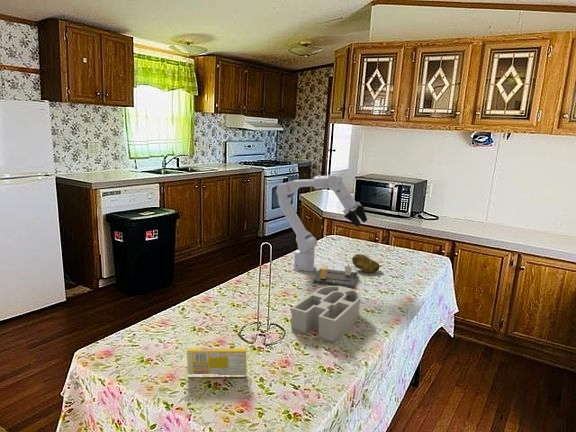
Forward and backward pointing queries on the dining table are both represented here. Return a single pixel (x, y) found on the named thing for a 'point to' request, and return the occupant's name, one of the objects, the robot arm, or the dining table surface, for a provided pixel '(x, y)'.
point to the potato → (365, 263)
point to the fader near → (323, 273)
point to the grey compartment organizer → (327, 312)
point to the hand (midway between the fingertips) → (362, 223)
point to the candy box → (217, 361)
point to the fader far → (348, 269)
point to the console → (336, 278)
